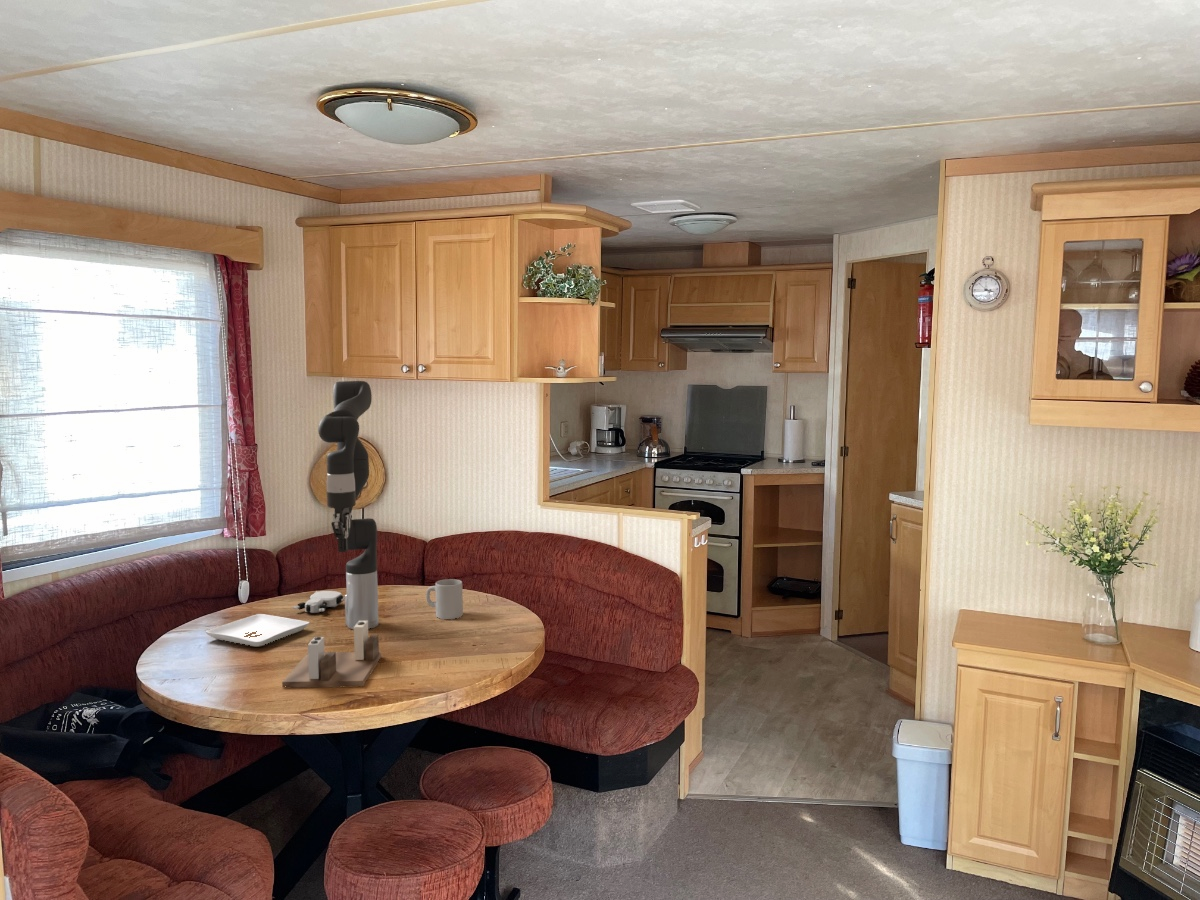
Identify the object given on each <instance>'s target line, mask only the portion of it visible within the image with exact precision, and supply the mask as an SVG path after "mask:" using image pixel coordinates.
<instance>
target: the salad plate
mask: <svg viewBox="0 0 1200 900" xmlns="http://www.w3.org/2000/svg"><path fill="white" fill-rule="evenodd" d="M309 624H310V621H306V620H300V619H295V618H289V617H282V616H278V615H272V614H263V613H257V614H254V615H250V616H247V617H244V618H241V619H238V620H234V621H232V622H229V623H225V624H223V625H219V626H217V627H214V628H211V629H207V630H205V633H206V635H207V636H209V637H211V638H213V639H217V640H220V641H223V640H225V641H224V642H226V641H230V642H229V643H231V642H234V643H233V644H236V643H240V644H239V645H242V644H245V645H244V646H248V645H250V646H249V647H256V648H257V647H263V646H266V645H268V643H269V644H271V643H274V642H276V641H275V640H277V641H279V640H281V639H280V638H282V639H284V638H287V637H289V636H291V634H292V635H294V634H296V633H299V632H300V631H302V630H304V629H305V628H307V627H308V626H309ZM256 631H257V632H256ZM248 632H249V633H248ZM252 632H256V634H252V635H251V636H255V635H260V634H262V635H260V636H257V637H250V636H248V637H244V636H246V635H248V634H250V633H252ZM245 633H248V634H245ZM288 635H289V636H288ZM286 636H287V637H286ZM249 637H250V638H249ZM283 637H284V638H283ZM278 639H279V640H278ZM273 641H274V642H273ZM270 642H271V643H270ZM265 644H266V645H265Z"/></svg>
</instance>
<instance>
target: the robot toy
mask: <svg viewBox="0 0 1200 900" xmlns="http://www.w3.org/2000/svg"><path fill="white" fill-rule="evenodd" d="M344 601H345V596H344V594H343V593H341V592H339V591H336V590H335V591H334V590H320V591H319V590H318V591H317V590H316V591H315V592H314V593H313V594H311V595H310V596H309V599H308V600H306V601H305V602H299V603H297V605H294V606H293V609H294V610H299V611H300V610H303V609H304V610H305V611H304V612H305V613H309V614H319V613H320V612H321V613H324V612H326V609H327V608H329V607H330V608H336V607H337V606H339V605H340V604H341V603H343V602H344Z"/></svg>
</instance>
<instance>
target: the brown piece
mask: <svg viewBox="0 0 1200 900" xmlns="http://www.w3.org/2000/svg"><path fill="white" fill-rule="evenodd" d="M379 643H380V642H379V634H371V635H370V636H368V640H367V641H366V643H365V652H366V657H365V659H364V660H355V652H354V651H350V652H349V651H347V652H345V651H344V652H343V651H341V652H340V651H338V652H337V651H328V652H325V656H324V657H323V659H322V660H321V661H320V667H321V677H320V678H319V679H309V664H308V652H307V653H306V654H305V655H304V656H303V658H301V660H300V661H299V662H298V663H297V664H296V665H295V667H294V668H293V669H292V670H291V671H290V672H289V673H288V674H287V676H286V677H284V679H283V680H282V681H281V682H282V683H281V684H282V687H285V686H286V687H290V688H344V687H343V686H363V687H364V686H365V684H366V682H367V681H366V680H368V679H369V677H370V676H371V674H372V673H371V672H373V671H374V670H373V669H375V668H376V666H377V665H378V663H379V662H380V660H381V658H382V652H381V651H380V649H379V648H380V647H379V646H380V644H379ZM379 659H380V660H379ZM378 661H379V662H378ZM377 662H378V663H377ZM376 664H377V665H376ZM374 667H375V668H374ZM372 670H373V671H372ZM370 673H371V674H370ZM369 675H370V676H369ZM367 678H368V679H367ZM365 681H366V682H365ZM364 683H365V684H364ZM340 686H342V687H340Z"/></svg>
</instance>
